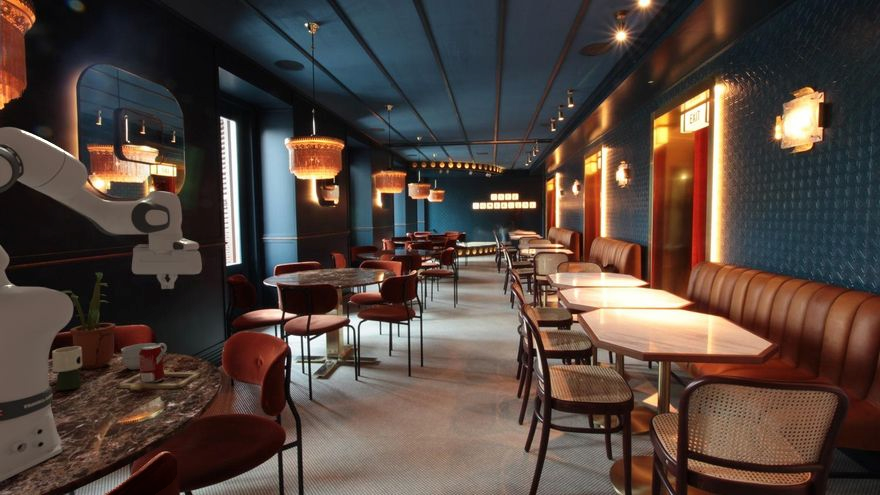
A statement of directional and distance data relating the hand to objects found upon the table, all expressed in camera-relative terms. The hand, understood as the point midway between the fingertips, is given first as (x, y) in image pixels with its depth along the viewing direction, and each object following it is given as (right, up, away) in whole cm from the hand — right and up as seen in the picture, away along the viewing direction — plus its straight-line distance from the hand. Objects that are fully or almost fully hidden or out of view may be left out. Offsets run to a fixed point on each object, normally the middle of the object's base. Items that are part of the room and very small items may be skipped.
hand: (167, 288), depth 133 cm
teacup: (-25, -32, +27) cm, 49 cm away
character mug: (-35, -33, +5) cm, 48 cm away
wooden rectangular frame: (-10, -32, +11) cm, 36 cm away
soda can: (-12, -33, +12) cm, 37 cm away
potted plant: (-44, -32, +24) cm, 60 cm away
